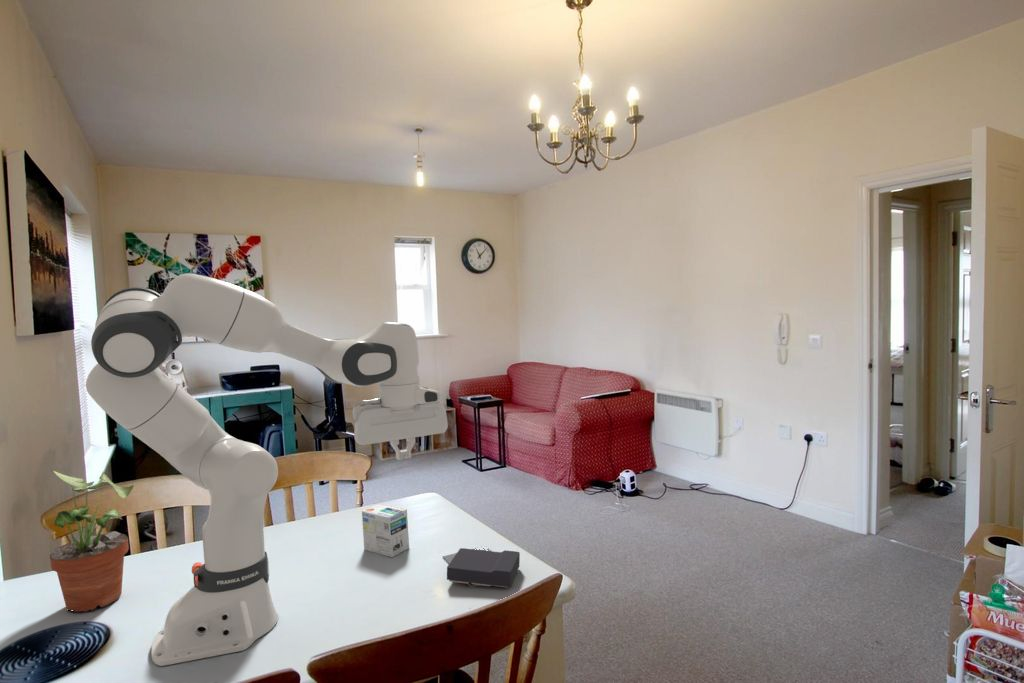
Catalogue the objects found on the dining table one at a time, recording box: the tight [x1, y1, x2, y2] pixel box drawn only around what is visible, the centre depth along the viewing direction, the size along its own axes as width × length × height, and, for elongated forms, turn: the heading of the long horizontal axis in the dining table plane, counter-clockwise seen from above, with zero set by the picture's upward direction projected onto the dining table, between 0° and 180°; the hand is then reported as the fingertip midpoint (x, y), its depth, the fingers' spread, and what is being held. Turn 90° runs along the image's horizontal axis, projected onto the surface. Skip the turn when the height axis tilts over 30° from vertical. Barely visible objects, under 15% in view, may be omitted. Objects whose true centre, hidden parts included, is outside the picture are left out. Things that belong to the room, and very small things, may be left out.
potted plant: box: [49, 468, 134, 612], centre depth 128 cm, size 16×15×35 cm
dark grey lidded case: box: [446, 547, 521, 588], centre depth 133 cm, size 11×4×15 cm
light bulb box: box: [361, 503, 410, 558], centre depth 151 cm, size 11×7×11 cm, turn 58°
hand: (403, 458), depth 125 cm, fingers closed
